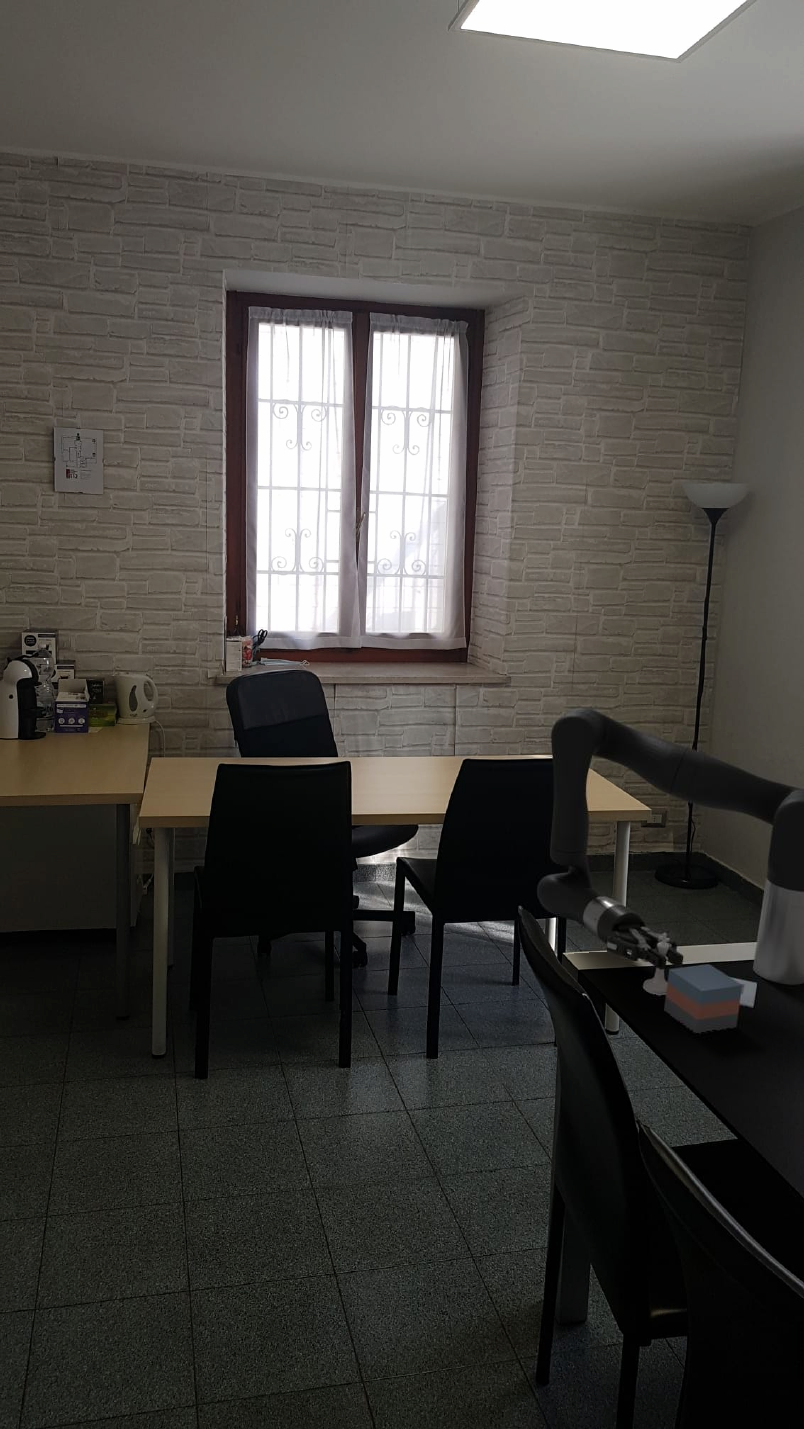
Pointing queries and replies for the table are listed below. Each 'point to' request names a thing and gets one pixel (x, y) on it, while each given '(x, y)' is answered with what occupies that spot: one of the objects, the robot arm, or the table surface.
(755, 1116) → the table surface
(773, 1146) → the table surface
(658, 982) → the chess piece
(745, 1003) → the picture card
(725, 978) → the brick tower
